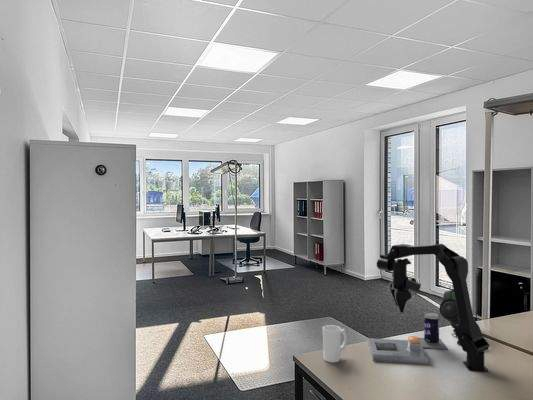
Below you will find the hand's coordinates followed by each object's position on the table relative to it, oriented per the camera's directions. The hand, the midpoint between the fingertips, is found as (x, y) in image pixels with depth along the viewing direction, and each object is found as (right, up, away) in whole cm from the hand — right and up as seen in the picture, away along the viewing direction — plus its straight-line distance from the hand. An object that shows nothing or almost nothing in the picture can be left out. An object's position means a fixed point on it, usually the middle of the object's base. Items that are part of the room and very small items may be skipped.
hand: (399, 309), depth 163 cm
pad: (+11, -13, -6) cm, 18 cm away
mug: (-31, -14, -19) cm, 39 cm away
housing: (-6, -13, -15) cm, 21 cm away
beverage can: (+11, -13, -6) cm, 18 cm away
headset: (+30, -13, +4) cm, 33 cm away
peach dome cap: (0, -9, -16) cm, 19 cm away
